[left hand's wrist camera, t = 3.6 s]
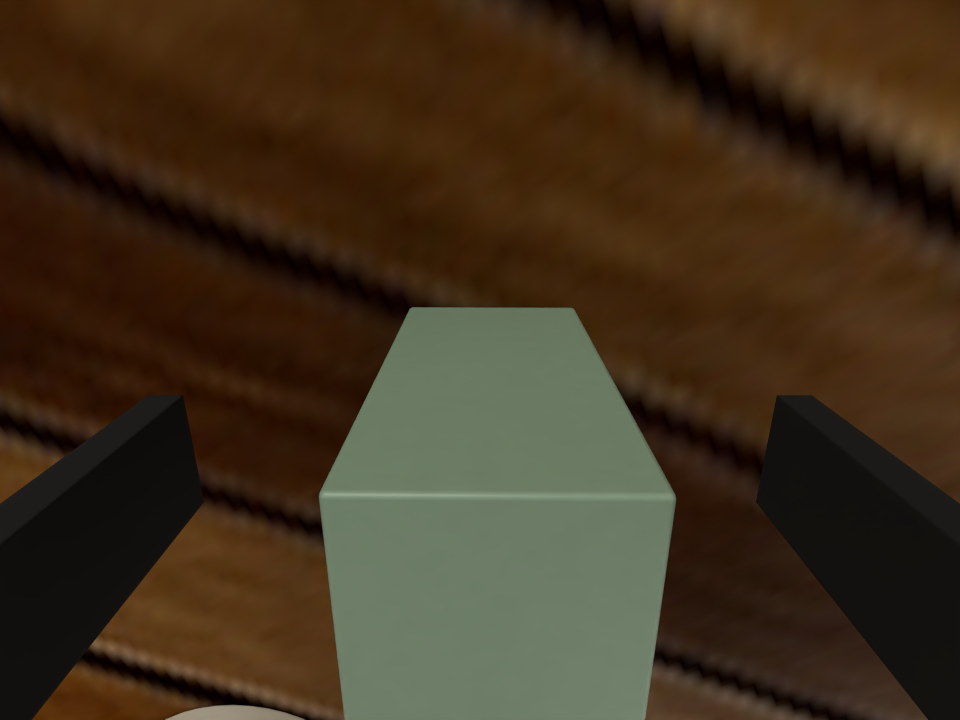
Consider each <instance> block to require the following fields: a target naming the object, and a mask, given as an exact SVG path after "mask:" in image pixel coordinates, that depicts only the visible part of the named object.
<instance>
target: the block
mask: <svg viewBox="0 0 960 720" xmlns="http://www.w3.org/2000/svg"><path fill="white" fill-rule="evenodd" d="M319 502H320V511H321V519H322V528H323V537H324V545H325V554H326V562H327V571H328V580H329V588H330V597H331V606H332V614H333V623H334V632H335V640H336V649H337V658H338V666H339V675H340V684H341V692H342V701H343V709H344V718H345V720H645V717H646V709H647V702H648V695H649V688H650V681H651V674H652V667H653V660H654V653H655V646H656V639H657V631H658V624H659V617H660V610H661V603H662V596H663V589H664V582H665V575H666V568H667V560H668V553H669V546H670V539H671V532H672V525H673V518H674V511H675V504H676V496H675V494H674V492H673V490H672V488H671V486H670V484H669V483H668V481H667V479H666V477H665V475H664V473H663V472H662V470H661V468H660V466H659V464H658V462H657V461H656V459H655V457H654V455H653V453H652V451H651V450H650V448H649V446H648V444H647V442H646V440H645V439H644V437H643V435H642V433H641V431H640V429H639V428H638V426H637V424H636V422H635V420H634V418H633V417H632V415H631V413H630V411H629V409H628V407H627V405H626V404H625V402H624V400H623V398H622V396H621V394H620V393H619V391H618V389H617V387H616V385H615V383H614V382H613V380H612V378H611V376H610V374H609V372H608V371H607V369H606V367H605V365H604V363H603V361H602V360H601V358H600V356H599V354H598V352H597V350H596V349H595V347H594V345H593V343H592V341H591V339H590V338H589V336H588V334H587V332H586V330H585V328H584V327H583V325H582V323H581V321H580V319H579V317H578V316H577V314H576V312H575V310H574V309H573V308H431V307H413V308H410V310H409V312H408V314H407V316H406V318H405V320H404V322H403V324H402V326H401V328H400V330H399V332H398V334H397V336H396V338H395V340H394V342H393V345H392V347H391V349H390V351H389V353H388V355H387V357H386V359H385V361H384V363H383V365H382V367H381V369H380V371H379V373H378V375H377V377H376V379H375V381H374V383H373V385H372V387H371V389H370V391H369V393H368V395H367V398H366V400H365V402H364V404H363V406H362V408H361V410H360V412H359V414H358V416H357V418H356V420H355V422H354V424H353V426H352V428H351V430H350V432H349V434H348V436H347V438H346V440H345V442H344V444H343V446H342V448H341V451H340V453H339V455H338V457H337V459H336V461H335V463H334V465H333V467H332V469H331V471H330V473H329V475H328V477H327V479H326V481H325V483H324V485H323V487H322V489H321V491H320V494H319Z"/></svg>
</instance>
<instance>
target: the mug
mask: <svg viewBox="0 0 960 720" xmlns="http://www.w3.org/2000/svg"><path fill="white" fill-rule="evenodd" d="M166 720H305V719H303V718H300V717H297V716H294V715H291V714H288V713H285V712H281V711H277V710H273V709H269V708H262V707H255V706H245V705H219V706H209V707H203V708H197V709H193V710H189V711H185V712H182V713H180V714H177V715H174V716H172V717H169V718H167V719H166Z"/></svg>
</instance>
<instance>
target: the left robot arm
mask: <svg viewBox="0 0 960 720" xmlns="http://www.w3.org/2000/svg"><path fill="white" fill-rule="evenodd" d="M203 502H204V500H203V495H202V490H201V485H200V480H199V474H198V469H197V464H196V459H195V454H194V449H193V444H192V439H191V434H190V429H189V424H188V418H187V413H186V408H185V403H184V398H183V395H148V396H147V397H146V398H144V399H143V400H141V401H140V402H139V403H137V404H136V405H135V406H133V407H132V408H131V409H129V410H128V411H126V412H125V413H124V414H122V415H121V416H120V417H118V418H117V419H116V420H114V421H113V422H111V423H110V424H109V425H107V426H106V427H105V428H103V429H102V430H100V431H99V432H98V433H96V434H95V435H94V436H92V437H91V438H90V439H88V440H87V441H85V442H84V443H83V444H81V445H80V446H79V447H77V448H76V449H74V450H73V451H72V452H70V453H69V454H68V455H66V456H65V457H64V458H62V459H61V460H59V461H58V462H57V463H55V464H54V465H53V466H51V467H50V468H49V469H47V470H46V471H44V472H43V473H42V474H40V475H39V476H38V477H36V478H35V479H33V480H32V481H31V482H29V483H28V484H27V485H25V486H24V487H23V488H21V489H20V490H18V491H17V492H16V493H14V494H13V495H12V496H10V497H9V498H8V499H6V500H5V501H3V502H2V503H1V504H0V720H32V719H33V717H34V716H35V715H36V714H37V712H38V711H39V710H40V709H41V707H42V706H43V705H44V703H45V702H46V701H47V700H48V698H49V697H50V696H51V695H52V693H53V692H54V691H55V690H56V688H57V687H58V686H59V684H60V683H61V682H62V681H63V679H64V678H65V677H66V676H67V674H68V673H69V672H70V671H71V669H72V668H73V667H74V666H75V664H76V663H77V662H78V660H79V659H80V658H81V657H82V655H83V654H84V653H85V652H86V650H87V649H88V648H89V647H90V645H91V644H92V643H93V642H94V640H95V639H96V638H97V636H98V635H99V634H100V633H101V631H102V630H103V629H104V628H105V626H106V625H107V624H108V623H109V621H110V620H111V619H112V617H113V616H114V615H115V614H116V612H117V611H118V610H119V609H120V607H121V606H122V605H123V604H124V602H125V601H126V600H127V599H128V597H129V596H130V595H131V593H132V592H133V591H134V590H135V588H136V587H137V586H138V585H139V583H140V582H141V581H142V580H143V578H144V577H145V576H146V575H147V573H148V572H149V571H150V569H151V568H152V567H153V566H154V564H155V563H156V562H157V561H158V559H159V558H160V557H161V556H162V554H163V553H164V552H165V550H166V549H167V548H168V547H169V545H170V544H171V543H172V542H173V540H174V539H175V538H176V537H177V535H178V534H179V533H180V532H181V530H182V529H183V528H184V526H185V525H186V524H187V523H188V521H189V520H190V519H191V518H192V516H193V515H194V514H195V513H196V511H197V510H198V509H199V507H200V506H201V505H202V504H203ZM756 502H757V504H758V505H759V506H760V507H761V509H762V510H763V511H764V513H765V514H766V515H767V516H768V518H769V519H770V520H771V521H772V523H773V524H774V525H775V526H776V528H777V529H778V530H779V532H780V533H781V534H782V535H783V537H784V538H785V539H786V540H787V542H788V543H789V544H790V545H791V547H792V548H793V549H794V550H795V552H796V553H797V554H798V556H799V557H800V558H801V559H802V561H803V562H804V563H805V564H806V566H807V567H808V568H809V569H810V571H811V572H812V573H813V575H814V576H815V577H816V578H817V580H818V581H819V582H820V583H821V585H822V586H823V587H824V588H825V590H826V591H827V592H828V593H829V595H830V596H831V597H832V599H833V600H834V601H835V602H836V604H837V605H838V606H839V607H840V609H841V610H842V611H843V612H844V614H845V615H846V616H847V617H848V619H849V620H850V621H851V623H852V624H853V625H854V626H855V628H856V629H857V630H858V631H859V633H860V634H861V635H862V636H863V638H864V639H865V640H866V642H867V643H868V644H869V645H870V647H871V648H872V649H873V650H874V652H875V653H876V654H877V655H878V657H879V658H880V659H881V660H882V662H883V663H884V664H885V666H886V667H887V668H888V669H889V671H890V672H891V673H892V674H893V676H894V677H895V678H896V679H897V681H898V682H899V683H900V684H901V686H902V687H903V688H904V690H905V691H906V692H907V693H908V695H909V696H910V697H911V698H912V700H913V701H914V702H915V703H916V705H917V706H918V707H919V709H920V710H921V711H922V712H923V714H924V715H925V716H926V717H927V719H928V720H960V504H959V503H958V502H957V501H955V500H954V499H952V498H951V497H950V496H948V495H947V494H946V493H944V492H943V491H942V490H940V489H939V488H937V487H936V486H935V485H933V484H932V483H931V482H929V481H928V480H927V479H925V478H924V477H922V476H921V475H920V474H918V473H917V472H916V471H914V470H913V469H911V468H910V467H909V466H907V465H906V464H905V463H903V462H902V461H901V460H899V459H898V458H896V457H895V456H894V455H892V454H891V453H890V452H888V451H887V450H886V449H884V448H883V447H881V446H880V445H879V444H877V443H876V442H875V441H873V440H872V439H870V438H869V437H868V436H866V435H865V434H864V433H862V432H861V431H860V430H858V429H857V428H855V427H854V426H853V425H851V424H850V423H849V422H847V421H846V420H844V419H843V418H842V417H840V416H839V415H838V414H836V413H835V412H834V411H832V410H831V409H829V408H828V407H827V406H825V405H824V404H823V403H821V402H820V401H819V400H817V399H816V398H814V397H813V396H812V395H777V398H776V403H775V408H774V413H773V418H772V424H771V429H770V434H769V439H768V444H767V449H766V454H765V459H764V464H763V469H762V474H761V480H760V485H759V490H758V495H757V500H756Z"/></svg>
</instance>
